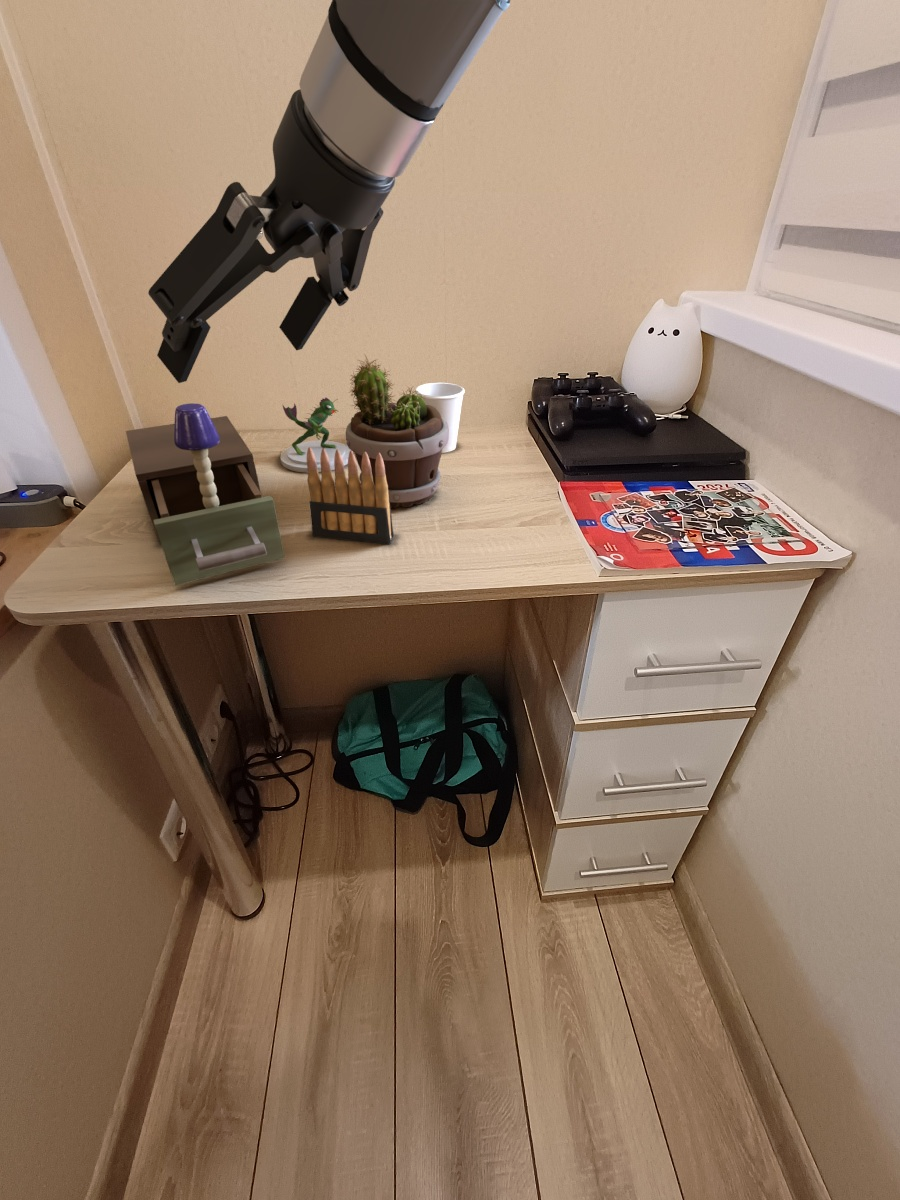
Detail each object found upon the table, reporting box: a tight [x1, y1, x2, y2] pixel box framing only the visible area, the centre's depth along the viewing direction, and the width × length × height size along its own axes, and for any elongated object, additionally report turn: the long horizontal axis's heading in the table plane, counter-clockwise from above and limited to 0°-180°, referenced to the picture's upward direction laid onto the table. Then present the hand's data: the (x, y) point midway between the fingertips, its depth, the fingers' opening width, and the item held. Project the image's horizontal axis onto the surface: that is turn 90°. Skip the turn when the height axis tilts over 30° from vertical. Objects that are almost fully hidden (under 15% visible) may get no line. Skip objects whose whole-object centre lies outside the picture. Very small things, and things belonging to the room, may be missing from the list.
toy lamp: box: [174, 402, 220, 509], centre depth 65 cm, size 5×5×17 cm
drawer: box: [151, 463, 286, 586], centre depth 68 cm, size 22×13×8 cm, turn 28°
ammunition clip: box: [307, 447, 395, 545], centre depth 72 cm, size 11×2×12 cm, turn 79°
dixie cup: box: [414, 382, 465, 454], centre depth 99 cm, size 8×8×10 cm
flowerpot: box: [345, 353, 449, 509], centre depth 81 cm, size 14×15×20 cm
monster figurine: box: [279, 397, 353, 474], centre depth 94 cm, size 12×12×10 cm
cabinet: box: [125, 415, 262, 546], centre depth 80 cm, size 17×14×10 cm
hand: (236, 352), depth 52 cm, fingers open, 13 cm apart
